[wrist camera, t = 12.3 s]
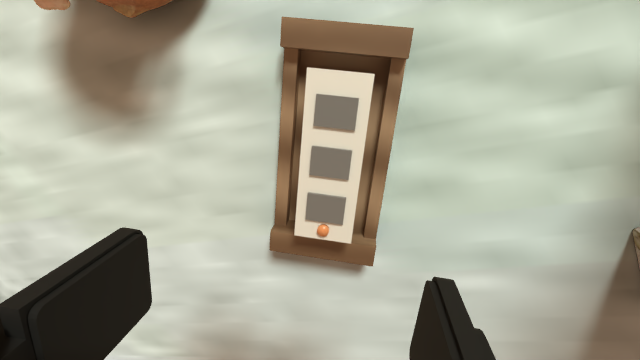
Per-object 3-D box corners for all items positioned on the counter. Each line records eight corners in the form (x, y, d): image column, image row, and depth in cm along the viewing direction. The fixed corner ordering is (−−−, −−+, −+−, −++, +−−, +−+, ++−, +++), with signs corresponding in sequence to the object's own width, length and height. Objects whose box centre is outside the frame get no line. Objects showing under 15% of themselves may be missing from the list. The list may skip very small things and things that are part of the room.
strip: (318, 68, 30) (306, 67, 24) (372, 74, 29) (374, 73, 23) (305, 208, 34) (293, 237, 28) (353, 215, 34) (350, 245, 28)
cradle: (291, 23, 30) (281, 16, 26) (407, 33, 29) (413, 28, 25) (279, 232, 36) (269, 250, 33) (371, 246, 35) (372, 266, 32)
